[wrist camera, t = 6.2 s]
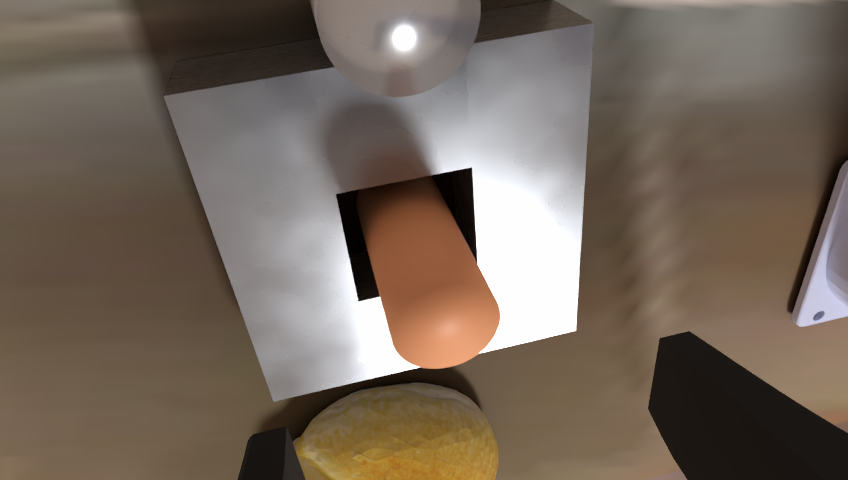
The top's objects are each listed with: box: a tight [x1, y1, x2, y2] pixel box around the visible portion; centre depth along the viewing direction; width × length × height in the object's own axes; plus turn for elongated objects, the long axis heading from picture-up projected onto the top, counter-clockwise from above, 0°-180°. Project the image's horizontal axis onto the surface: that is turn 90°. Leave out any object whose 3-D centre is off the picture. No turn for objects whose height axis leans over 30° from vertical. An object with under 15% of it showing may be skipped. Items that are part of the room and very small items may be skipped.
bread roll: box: [293, 383, 498, 480], centre depth 24 cm, size 8×9×4 cm
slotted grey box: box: [164, 0, 594, 401], centre depth 16 cm, size 10×13×5 cm
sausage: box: [356, 175, 501, 369], centre depth 16 cm, size 3×3×6 cm
